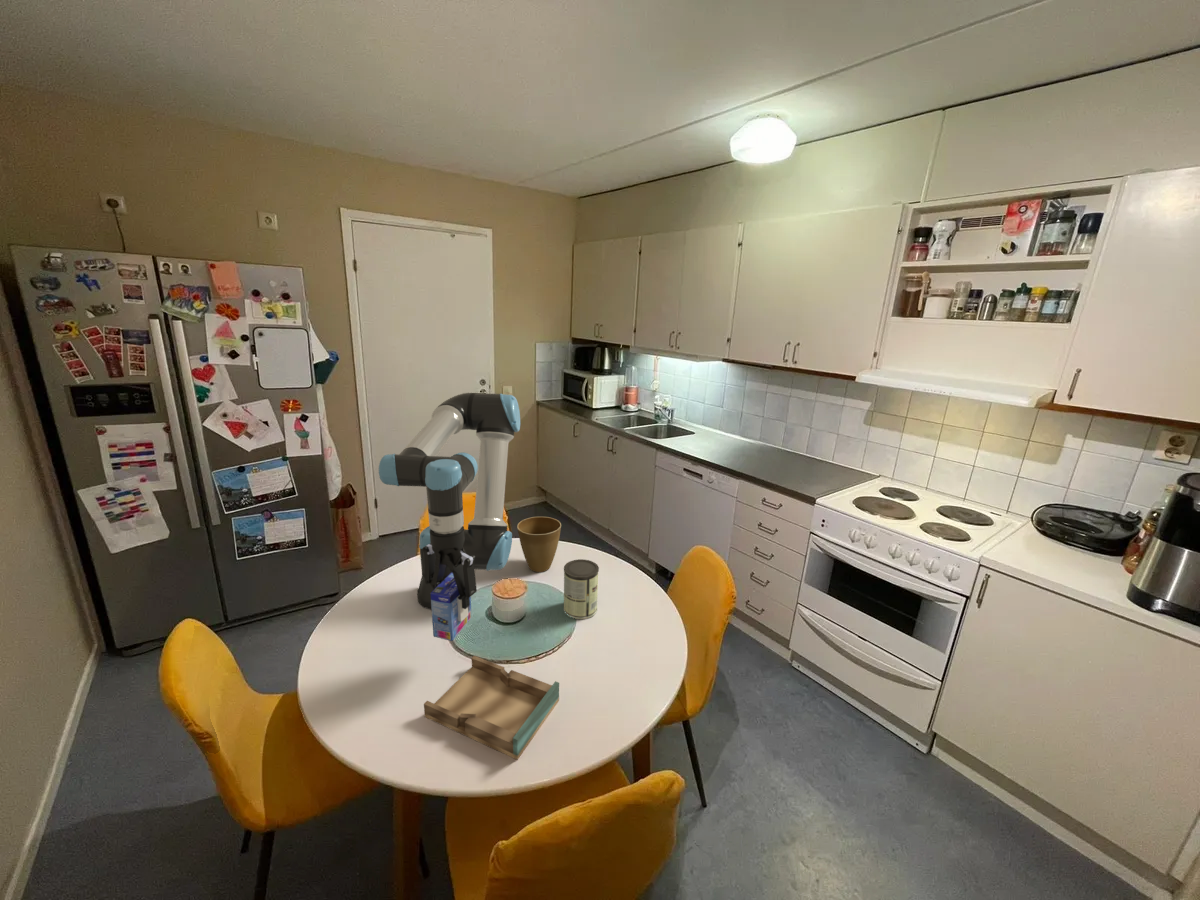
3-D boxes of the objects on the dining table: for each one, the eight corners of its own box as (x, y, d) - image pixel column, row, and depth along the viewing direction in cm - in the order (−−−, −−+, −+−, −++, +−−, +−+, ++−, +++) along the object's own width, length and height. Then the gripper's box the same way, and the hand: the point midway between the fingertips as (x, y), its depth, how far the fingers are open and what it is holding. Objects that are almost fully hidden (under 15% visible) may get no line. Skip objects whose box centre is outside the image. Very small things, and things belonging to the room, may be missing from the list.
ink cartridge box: (453, 642, 112) (449, 587, 108) (432, 638, 113) (427, 584, 109) (473, 617, 122) (470, 565, 118) (453, 613, 123) (449, 563, 119)
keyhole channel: (424, 716, 105) (423, 698, 104) (474, 667, 120) (473, 650, 119) (517, 759, 96) (517, 739, 95) (559, 700, 111) (559, 682, 110)
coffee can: (566, 598, 151) (566, 557, 147) (598, 601, 150) (600, 560, 146) (560, 618, 141) (560, 575, 137) (595, 621, 140) (596, 578, 136)
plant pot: (564, 558, 175) (564, 517, 171) (555, 579, 161) (556, 536, 156) (524, 554, 177) (523, 514, 172) (512, 575, 162) (511, 532, 158)
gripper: (402, 525, 110) (410, 611, 117) (469, 543, 103) (474, 635, 109) (426, 513, 117) (433, 595, 123) (491, 529, 109) (494, 616, 116)
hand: (452, 614), depth 116 cm, fingers closed on ink cartridge box, 6 cm apart
